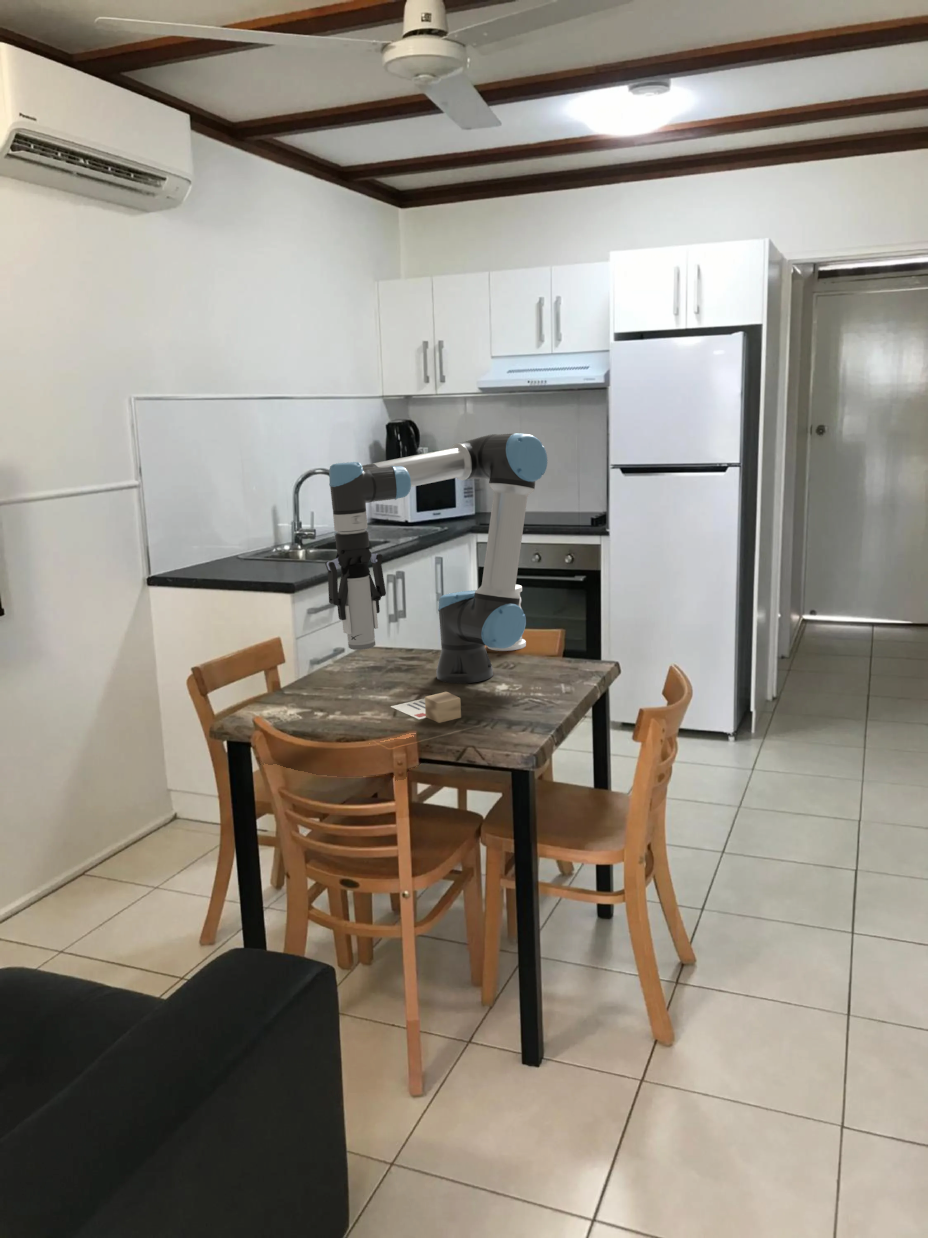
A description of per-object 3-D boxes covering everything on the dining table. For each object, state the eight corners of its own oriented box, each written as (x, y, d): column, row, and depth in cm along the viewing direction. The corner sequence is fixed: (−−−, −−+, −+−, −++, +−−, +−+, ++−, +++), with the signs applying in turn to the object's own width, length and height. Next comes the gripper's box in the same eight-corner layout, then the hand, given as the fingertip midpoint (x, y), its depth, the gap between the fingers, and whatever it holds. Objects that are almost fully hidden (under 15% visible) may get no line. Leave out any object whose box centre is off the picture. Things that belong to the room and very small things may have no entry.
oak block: (425, 716, 235) (424, 696, 233) (447, 711, 238) (446, 691, 236) (439, 724, 230) (438, 703, 228) (461, 718, 233) (460, 698, 231)
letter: (390, 707, 245) (390, 706, 245) (425, 699, 250) (425, 698, 250) (419, 720, 233) (419, 719, 233) (455, 711, 238) (455, 710, 238)
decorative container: (491, 652, 294) (488, 592, 290) (484, 643, 305) (481, 585, 301) (529, 648, 295) (527, 588, 292) (521, 640, 307) (518, 582, 303)
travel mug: (355, 651, 228) (346, 565, 224) (344, 646, 234) (336, 562, 230) (380, 647, 231) (372, 561, 227) (369, 641, 237) (361, 558, 232)
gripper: (319, 538, 219) (330, 640, 224) (396, 527, 228) (404, 625, 233) (305, 535, 225) (316, 635, 230) (380, 524, 235) (389, 620, 240)
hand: (360, 630), depth 232 cm, fingers closed on travel mug, 6 cm apart
